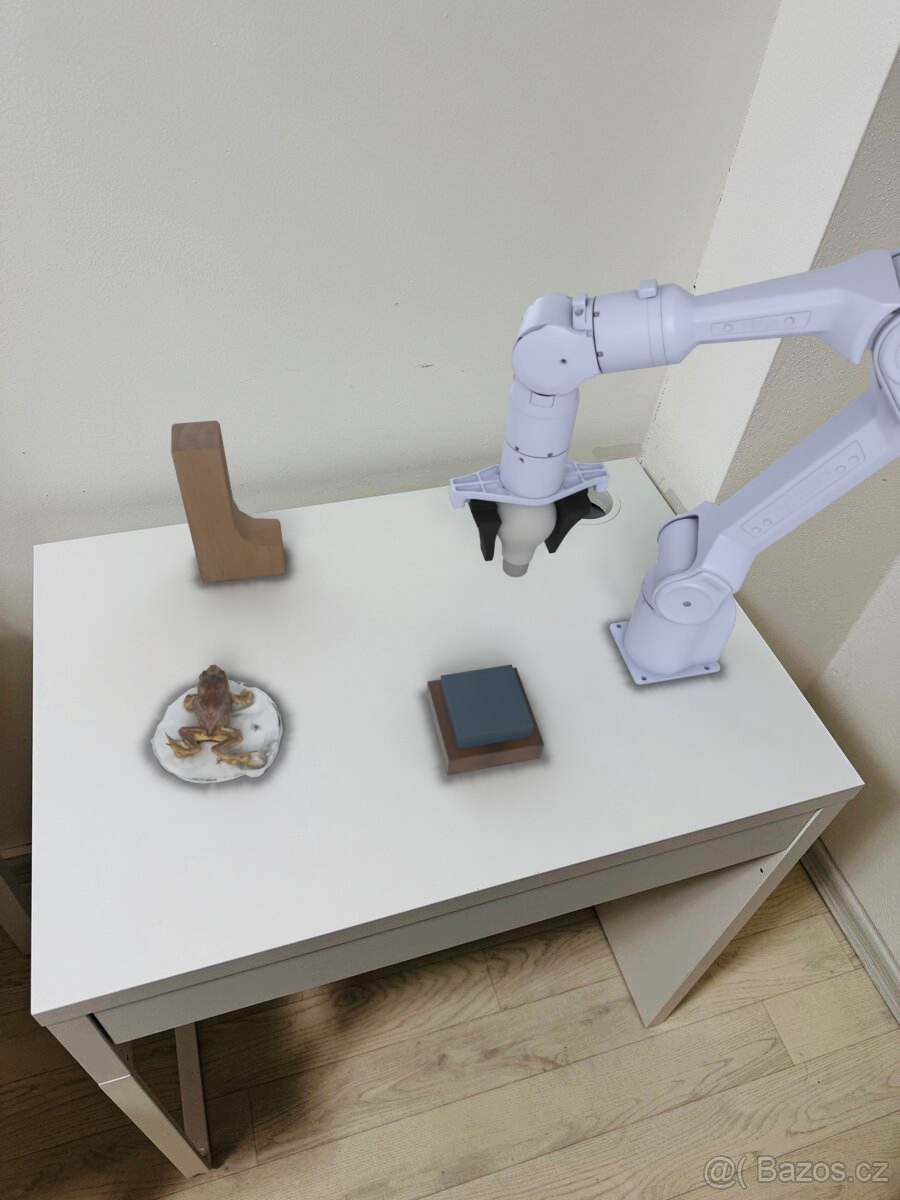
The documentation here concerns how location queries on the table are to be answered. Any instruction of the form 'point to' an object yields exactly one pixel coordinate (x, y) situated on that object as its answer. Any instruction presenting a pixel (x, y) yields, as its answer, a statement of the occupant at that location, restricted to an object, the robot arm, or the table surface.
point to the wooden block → (220, 510)
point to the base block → (481, 754)
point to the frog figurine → (218, 731)
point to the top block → (485, 706)
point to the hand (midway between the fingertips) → (518, 549)
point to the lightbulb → (523, 533)
